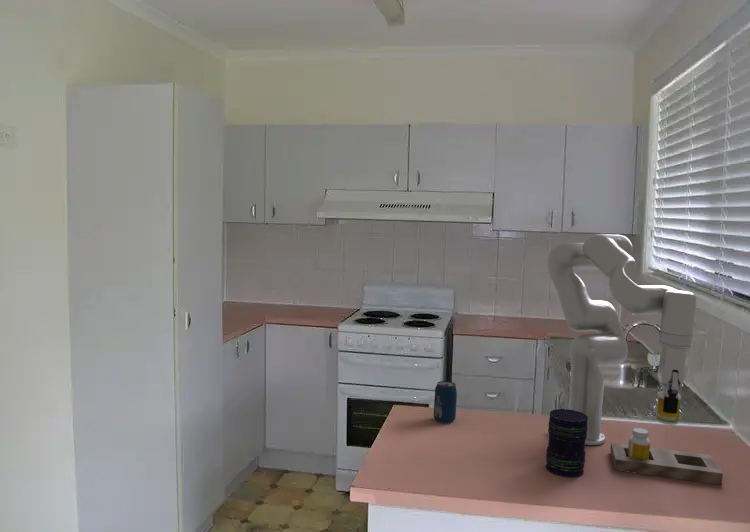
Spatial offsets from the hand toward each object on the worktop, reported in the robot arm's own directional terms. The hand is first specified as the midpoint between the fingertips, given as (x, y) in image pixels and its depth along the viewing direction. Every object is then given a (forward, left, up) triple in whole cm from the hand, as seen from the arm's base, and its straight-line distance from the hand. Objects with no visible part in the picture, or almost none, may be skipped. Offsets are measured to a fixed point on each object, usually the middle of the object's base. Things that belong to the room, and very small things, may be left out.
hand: (668, 408), depth 170 cm
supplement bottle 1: (-5, +9, -19) cm, 22 cm away
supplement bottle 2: (0, 0, -4) cm, 4 cm away
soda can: (-60, +25, -19) cm, 68 cm away
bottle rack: (+2, +9, -19) cm, 21 cm away
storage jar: (-24, -2, -19) cm, 31 cm away
